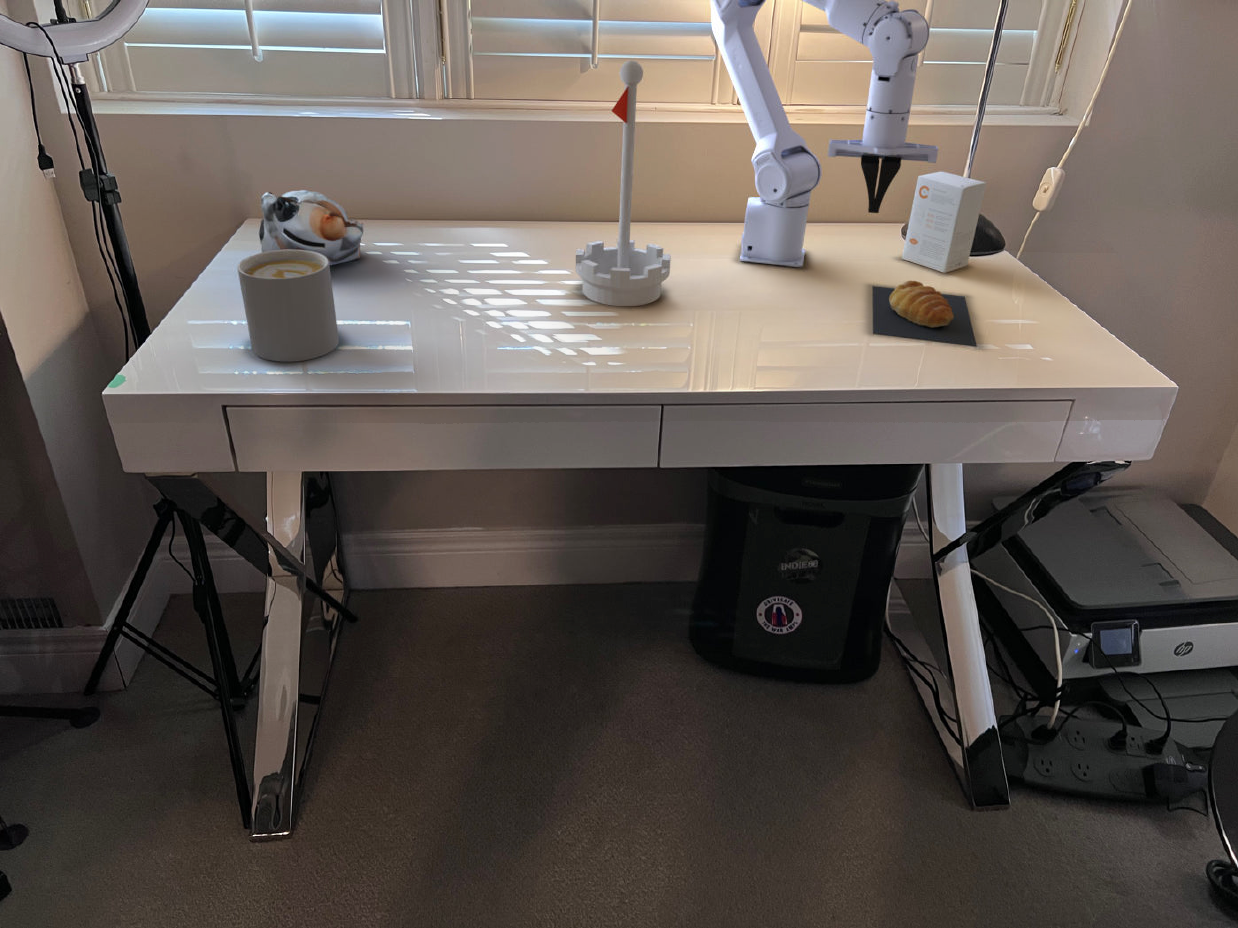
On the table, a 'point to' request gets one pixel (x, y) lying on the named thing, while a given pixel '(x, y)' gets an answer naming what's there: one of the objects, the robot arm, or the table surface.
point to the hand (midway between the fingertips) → (873, 211)
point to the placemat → (898, 326)
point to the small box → (943, 221)
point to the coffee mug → (289, 304)
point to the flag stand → (624, 229)
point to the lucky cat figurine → (309, 226)
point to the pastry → (921, 304)
